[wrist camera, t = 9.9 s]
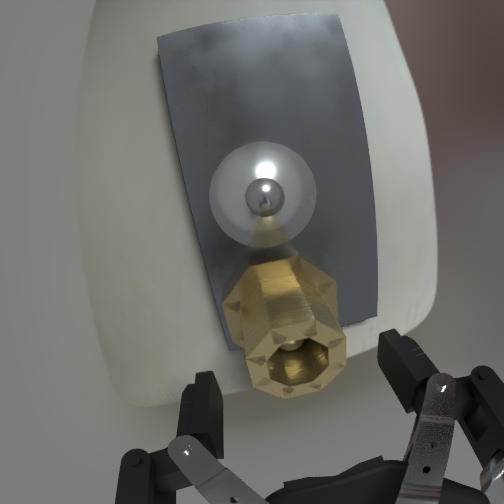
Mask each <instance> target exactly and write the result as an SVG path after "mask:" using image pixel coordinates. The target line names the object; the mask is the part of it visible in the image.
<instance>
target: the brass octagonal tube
mask: <svg viewBox="0 0 504 504" xmlns="http://www.w3.org/2000/svg"><path fill="white" fill-rule="evenodd" d="M222 307H223V310H224V314H225V317H226V321H227V325H228V328H229V332H230V335H231V339H232V342H233V343H235V344H237V345H239V346H241V347H243V348H245V359H246V363H247V366H248V370H249V373H250V377H251V380H252V384H253V387H254V388H257V389H259V390H262V391H264V392H267V393H269V394H272V395H275V396H278V397H280V398H283V399H287V398H292V397H296V396H301V395H305V394H309V393H314V392H317V391H321V390H322V389H323V388H324V387H325V386H326V385H327V384H328V383H330V381H332V380H333V379H334V378H335V377H336V376H337V375H338V374H339V373H340V372H341V371H342V370H343V369H344V368H345V367H346V336H345V334H344V332H343V330H342V329H341V327H340V325H339V323H338V322H337V320H338V305H337V288H336V280H335V279H334V277H333V276H332V275H331V273H330V272H328V271H327V270H325V269H324V268H322V267H321V266H319V265H318V264H316V263H315V262H313V261H312V260H310V259H309V258H307V257H306V256H304V255H303V254H301V253H300V252H298V251H297V250H295V249H294V250H290V251H285V252H280V253H275V254H270V255H265V256H260V257H255V258H250V259H248V260H247V261H246V262H245V264H244V265H243V267H242V268H241V269H240V271H239V272H238V274H237V275H236V277H235V278H234V279H233V281H232V282H231V284H230V285H229V286H228V288H227V289H226V291H225V292H224V293H223V295H222ZM301 339H304V340H303V343H302V344H301V346H300V347H298V348H297V349H294V350H284V349H282V348H281V347H280V346H281V344H283V343H287V342H292V341H296V340H301Z"/></svg>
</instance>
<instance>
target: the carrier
mask: <svg viewBox="0 0 504 504" xmlns="http://www.w3.org/2000/svg"><path fill="white" fill-rule="evenodd" d="M157 42H158V49H159V55H160V61H161V67H162V73H163V78H164V84H165V89H166V95H167V100H168V105H169V111H170V116H171V121H172V126H173V131H174V135H175V140H176V145H177V150H178V154H179V159H180V163H181V168H182V172H183V177H184V181H185V185H186V190H187V194H188V198H189V202H190V207H191V211H192V215H193V219H194V223H195V227H196V231H197V235H198V239H199V243H200V247H201V250H202V254H203V258H204V262H205V265H206V269H207V273H208V276H209V280H210V284H211V287H212V291H213V294H214V298H215V302H216V305H217V309H218V312H219V315H220V319H221V322H222V326H223V329H224V332H225V336H226V339H227V342H228V345H229V349H230V350H235V349H240V348H243V347H241V346H239V345H237V344H235V343H233V342H232V339H231V335H230V332H229V328H228V325H227V321H226V317H225V314H224V310H223V307H222V295H223V293H224V292H225V291H226V289H227V288H228V286H229V285H230V284H231V282H232V281H233V279H234V278H235V277H236V275H237V274H238V272H239V271H240V269H241V268H242V267H243V265H244V264H245V262H246V261H247V260H248V259H250V258H255V257H260V256H265V255H270V254H275V253H280V252H285V251H290V250H294V249H295V250H297V251H298V252H300V253H301V254H303V255H304V256H306V257H307V258H309V259H310V260H312V261H313V262H315V263H316V264H318V265H319V266H321V267H322V268H324V269H325V270H327V271H328V272H330V273H331V275H332V276H333V277H334V279H335V280H336V288H337V305H338V320H337V322H338V323H339V325H340V326H344V325H347V324H351V323H355V322H358V321H362V320H365V319H369V318H372V317H376V316H377V301H378V260H377V233H376V216H375V202H374V191H373V181H372V172H371V164H370V156H369V149H368V142H367V135H366V129H365V123H364V117H363V112H362V107H361V102H360V97H359V92H358V87H357V83H356V78H355V74H354V70H353V65H352V61H351V57H350V54H349V50H348V46H347V43H346V39H345V36H344V32H343V29H342V25H341V22H340V19H339V16H338V14H286V15H272V16H261V17H252V18H244V19H237V20H230V21H224V22H218V23H213V24H208V25H203V26H198V27H194V28H189V29H185V30H181V31H177V32H173V33H170V34H166V35H163V36H159V37H157ZM303 340H304V339H301V340H296V341H292V342H287V343H283V344H281V346H280V347H281V348H282V349H284V350H294V349H297V348H298V347H300V346H301V344H302V343H303Z"/></svg>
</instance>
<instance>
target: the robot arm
mask: <svg viewBox="0 0 504 504" xmlns="http://www.w3.org/2000/svg"><path fill="white" fill-rule="evenodd" d="M377 359H378V364H379V366H380V368H381V370H382V372H383V373H384V375H385V377H386V378H387V380H388V382H389V383H390V385H391V387H392V389H393V390H394V392H395V394H396V395H397V397H398V399H399V401H400V402H401V404H402V406H403V408H404V409H405V411H406V413H407V414H408V413H410V412H413V411H415V412H416V414H417V416H416V418H415V422H414V426H413V430H412V433H411V437H410V441H409V444H408V447H407V450H406V453H405V455H404V458H403V460H402V461H399V460H385V461H384V460H383V457H382V456H379V457H376V458H373V459H370V460H367V461H364V462H361V463H359V464H357V465H355V466H353V467H352V468H350V469H348V470H346V471H345V472H342V473H341V474H339V475H336V476H328V477H307V478H302V479H297V480H292V481H287V482H283V483H284V488H282V489H279V490H277V491H275V492H274V493H272V494H271V495H269V496H268V497H267V498H265V499H263V498H262V497H261V496H259V495H258V494H257V493H256V492H255V491H253V490H252V489H251V488H250V487H249V486H247V485H246V484H245V483H244V482H243V481H242V480H241V479H240V478H238V477H237V476H236V475H235V474H234V473H233V472H232V471H231V470H229V469H228V468H225V467H224V466H223V465H222V464H221V463H220V462H219V461H218V460H217V459H223V458H224V449H223V398H222V393H221V390H220V388H219V385H218V383H217V380H216V378H215V375H214V373H213V371H206V372H199V373H196V378H195V384H188V385H187V386H186V388H185V390H184V391H183V393H182V399H181V406H180V413H179V421H178V428H177V435H176V438H175V439H173V440H172V441H171V442H170V444H169V446H168V447H167V448H165V449H163V450H159V451H156V452H152V453H149V454H148V453H147V452H146V451H144V450H142V449H132V450H130V451H128V452H127V453H126V454H125V455H124V456H123V458H122V460H121V466H120V472H119V478H118V485H117V492H116V499H115V504H176V490H179V489H182V488H186V487H189V486H192V485H194V486H195V488H196V489H197V490H198V491H199V493H200V494H201V495H202V496H203V497H204V498H205V499H206V500H207V501H208V502H209V503H210V504H504V383H503V382H502V381H501V379H500V378H499V377H498V375H497V374H496V373H495V372H494V370H493V369H491V368H490V367H488V366H478V367H476V368H474V369H473V370H472V372H471V374H470V376H466V377H460V378H453V377H452V376H451V375H449V374H447V373H440V372H439V371H438V369H437V368H436V367H435V366H434V364H433V363H432V362H431V360H430V359H429V358H428V357H427V355H426V354H424V352H423V350H422V349H421V348H420V347H419V345H418V344H417V343H416V342H415V340H413V339H411V338H410V337H408V336H406V335H405V336H402V337H401V335H400V334H399V333H398V332H397V330H396V329H391V330H388V331H385V332H382V333H380V334H379V342H378V355H377ZM454 420H457V421H458V422H459V424H460V426H461V428H462V430H463V431H464V433H465V435H466V437H467V439H468V440H469V442H470V444H471V446H472V448H473V450H474V452H475V454H476V456H477V458H478V460H479V462H480V464H481V466H482V467H483V470H482V472H481V474H480V486H481V491H480V490H477V489H475V488H471V487H469V486H466V485H463V484H460V483H457V482H455V481H452V480H449V479H447V478H444V475H445V471H446V467H447V462H448V458H449V453H450V448H451V443H452V437H453V431H454V425H455V421H454Z"/></svg>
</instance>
